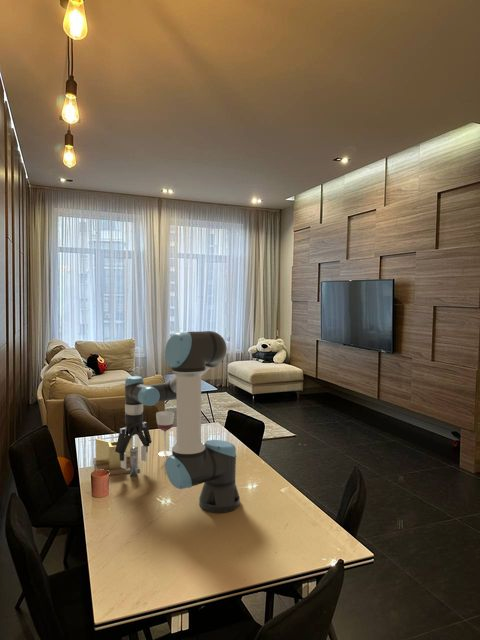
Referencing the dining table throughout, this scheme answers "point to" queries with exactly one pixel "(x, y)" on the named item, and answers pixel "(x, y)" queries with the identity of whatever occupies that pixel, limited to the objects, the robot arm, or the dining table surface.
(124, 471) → the board
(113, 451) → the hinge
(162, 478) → the dining table surface
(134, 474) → the pin
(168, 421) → the wineglass
